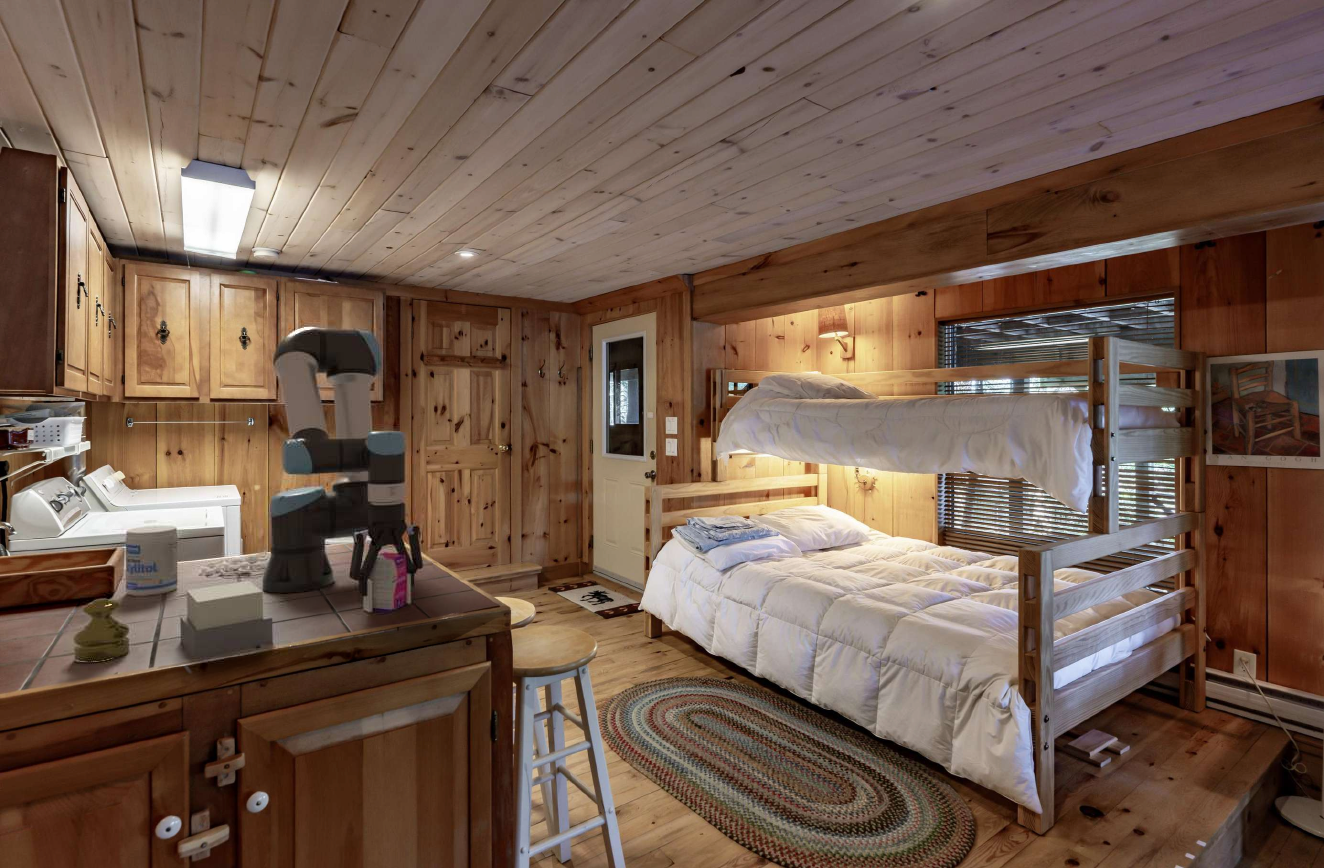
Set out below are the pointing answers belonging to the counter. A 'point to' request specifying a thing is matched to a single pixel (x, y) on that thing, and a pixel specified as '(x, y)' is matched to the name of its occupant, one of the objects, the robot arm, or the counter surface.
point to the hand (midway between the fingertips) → (387, 605)
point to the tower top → (224, 605)
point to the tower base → (225, 636)
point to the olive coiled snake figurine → (101, 633)
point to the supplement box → (388, 582)
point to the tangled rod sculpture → (236, 565)
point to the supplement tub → (151, 560)
